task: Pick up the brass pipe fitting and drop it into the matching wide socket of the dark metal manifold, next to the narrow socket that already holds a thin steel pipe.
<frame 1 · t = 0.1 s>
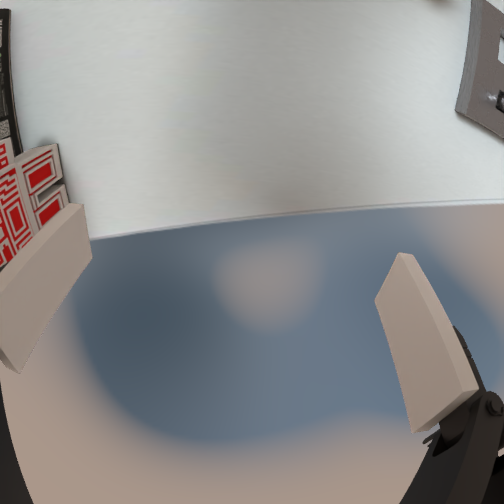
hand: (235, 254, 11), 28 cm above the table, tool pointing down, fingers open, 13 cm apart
manifold: (497, 72, 25), on the table
box: (3, 91, 30), on the table
toy: (52, 180, 40), on the table
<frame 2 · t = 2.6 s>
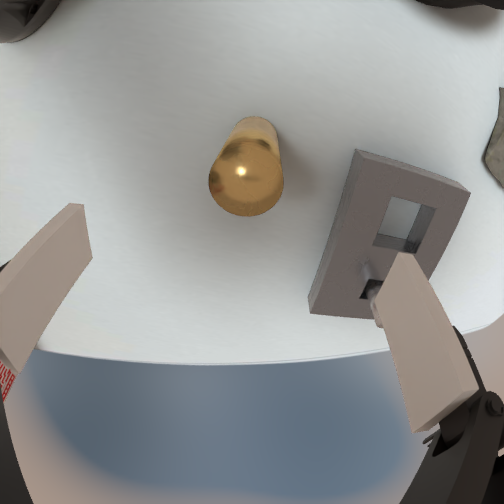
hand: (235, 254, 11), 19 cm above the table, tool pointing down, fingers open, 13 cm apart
fitting: (254, 138, 27), on the table
manifold: (383, 242, 33), on the table
toy: (9, 313, 48), on the table
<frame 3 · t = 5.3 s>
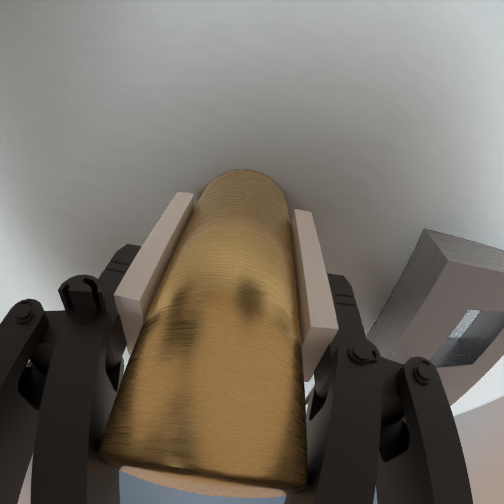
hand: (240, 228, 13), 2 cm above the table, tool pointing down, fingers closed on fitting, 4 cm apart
fitting: (243, 211, 14), on the table, touching gripper
manifold: (431, 345, 20), on the table
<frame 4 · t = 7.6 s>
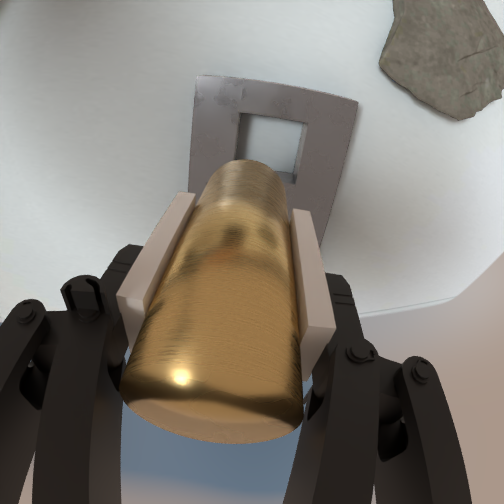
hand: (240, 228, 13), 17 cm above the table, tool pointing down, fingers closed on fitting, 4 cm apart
fitting: (245, 197, 16), point 14 cm above the table, touching gripper
manifold: (262, 178, 30), on the table
stone: (444, 50, 20), on the table
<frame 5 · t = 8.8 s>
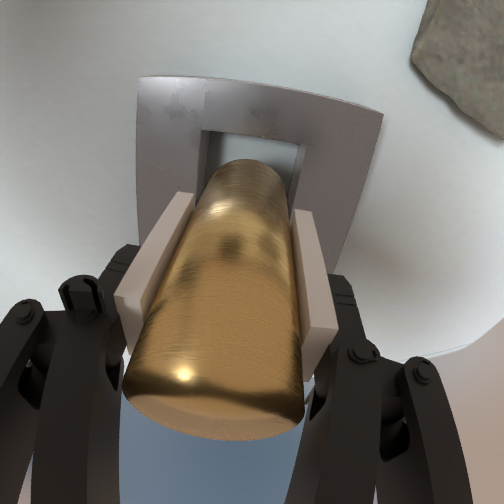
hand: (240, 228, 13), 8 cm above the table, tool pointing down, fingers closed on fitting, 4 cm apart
fitting: (245, 197, 16), point 5 cm above the table, touching gripper
manifold: (241, 218, 22), on the table
stone: (489, 47, 12), on the table
when the fingers open (5 cm above the table, at t = 10.0 s): fitting drops 2 cm, resting in manifold.
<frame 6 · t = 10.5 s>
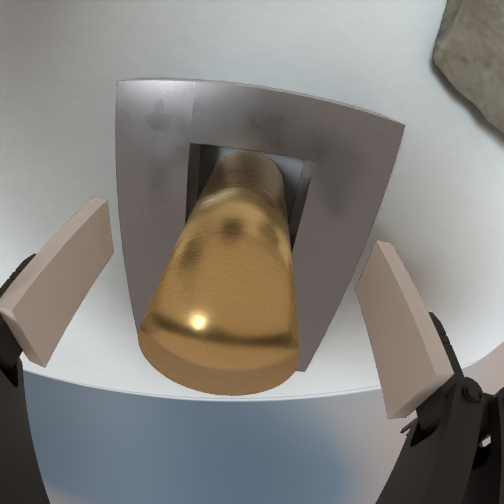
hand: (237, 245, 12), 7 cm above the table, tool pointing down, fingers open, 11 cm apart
fitting: (246, 185, 17), resting in manifold
manifold: (239, 240, 20), on the table
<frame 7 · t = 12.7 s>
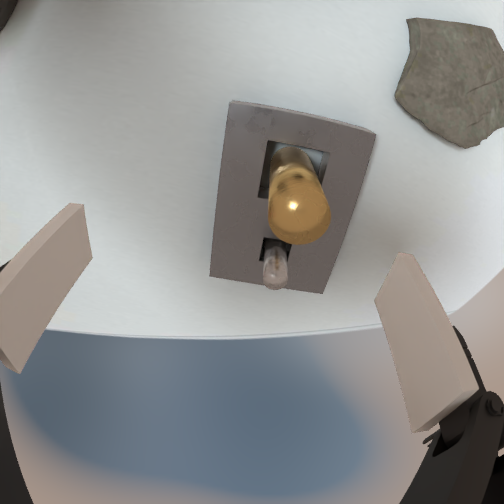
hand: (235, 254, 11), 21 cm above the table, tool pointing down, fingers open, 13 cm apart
fitting: (290, 166, 30), resting in manifold
manifold: (283, 199, 32), on the table
stone: (454, 80, 22), on the table
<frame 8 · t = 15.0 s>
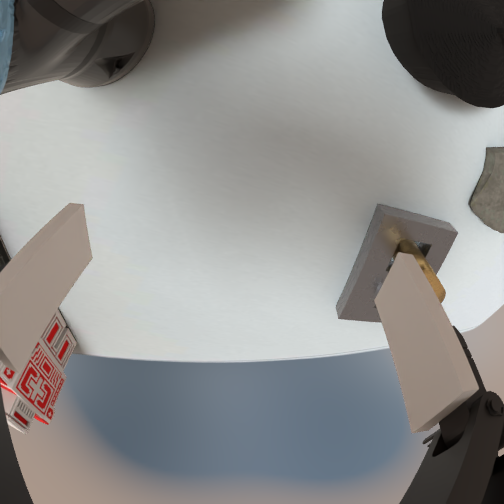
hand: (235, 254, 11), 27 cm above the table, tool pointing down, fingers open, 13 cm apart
fitting: (402, 247, 42), resting in manifold
manifold: (392, 266, 44), on the table
stone: (502, 184, 34), on the table
hut: (440, 33, 23), on the table
toy: (58, 322, 59), on the table
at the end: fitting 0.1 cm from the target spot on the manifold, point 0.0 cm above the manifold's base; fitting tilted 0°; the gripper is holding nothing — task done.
